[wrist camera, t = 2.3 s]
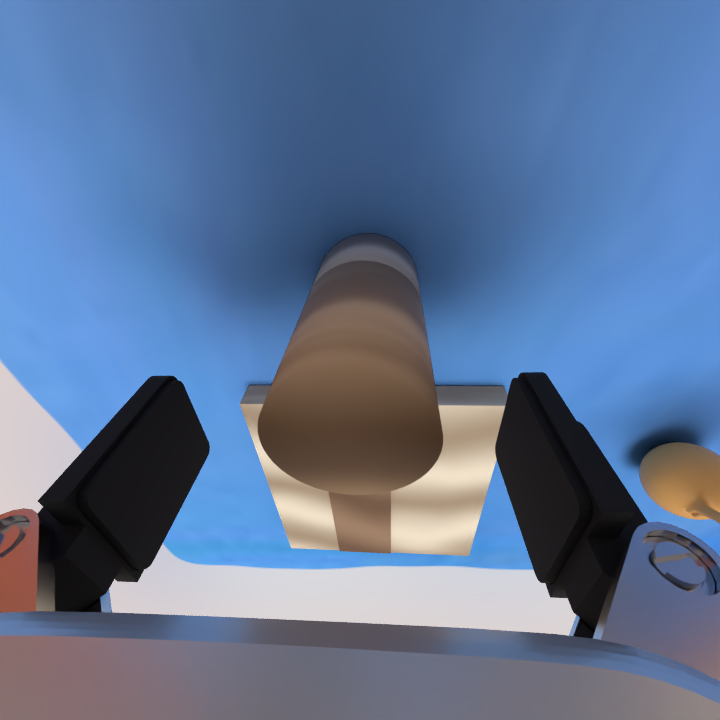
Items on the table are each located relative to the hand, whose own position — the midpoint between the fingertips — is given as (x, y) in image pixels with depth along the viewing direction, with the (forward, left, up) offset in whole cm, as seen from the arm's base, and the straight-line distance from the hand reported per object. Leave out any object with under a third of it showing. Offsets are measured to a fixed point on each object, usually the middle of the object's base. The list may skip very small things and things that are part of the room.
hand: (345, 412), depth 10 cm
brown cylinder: (-1, 0, -7) cm, 7 cm away
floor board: (+13, 0, -7) cm, 15 cm away
